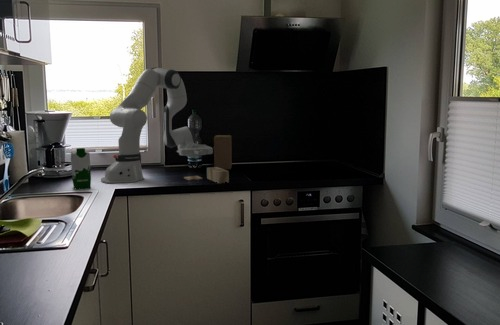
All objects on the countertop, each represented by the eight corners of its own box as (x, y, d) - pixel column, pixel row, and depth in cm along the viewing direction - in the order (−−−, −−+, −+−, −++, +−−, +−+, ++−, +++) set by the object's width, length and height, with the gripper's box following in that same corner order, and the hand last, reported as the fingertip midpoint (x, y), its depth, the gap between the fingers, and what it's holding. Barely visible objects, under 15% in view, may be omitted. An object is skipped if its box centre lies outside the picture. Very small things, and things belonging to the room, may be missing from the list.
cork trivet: (188, 180, 263) (188, 179, 263) (183, 178, 270) (183, 176, 270) (202, 179, 267) (202, 178, 267) (197, 176, 274) (197, 175, 274)
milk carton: (74, 190, 239) (72, 149, 236) (71, 186, 247) (69, 147, 244) (92, 188, 243) (90, 148, 240) (89, 185, 251) (87, 146, 248)
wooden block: (230, 169, 298) (230, 136, 295) (214, 169, 298) (214, 136, 295) (231, 166, 308) (231, 135, 305) (215, 166, 308) (215, 135, 305)
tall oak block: (206, 178, 269) (218, 183, 256) (206, 167, 268) (218, 172, 255) (216, 177, 272) (228, 182, 258) (216, 166, 271) (228, 171, 257)
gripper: (175, 145, 290) (183, 148, 278) (207, 144, 299) (216, 146, 287) (175, 156, 291) (183, 159, 278) (207, 154, 300) (216, 157, 288)
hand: (200, 152), depth 283 cm, fingers closed
